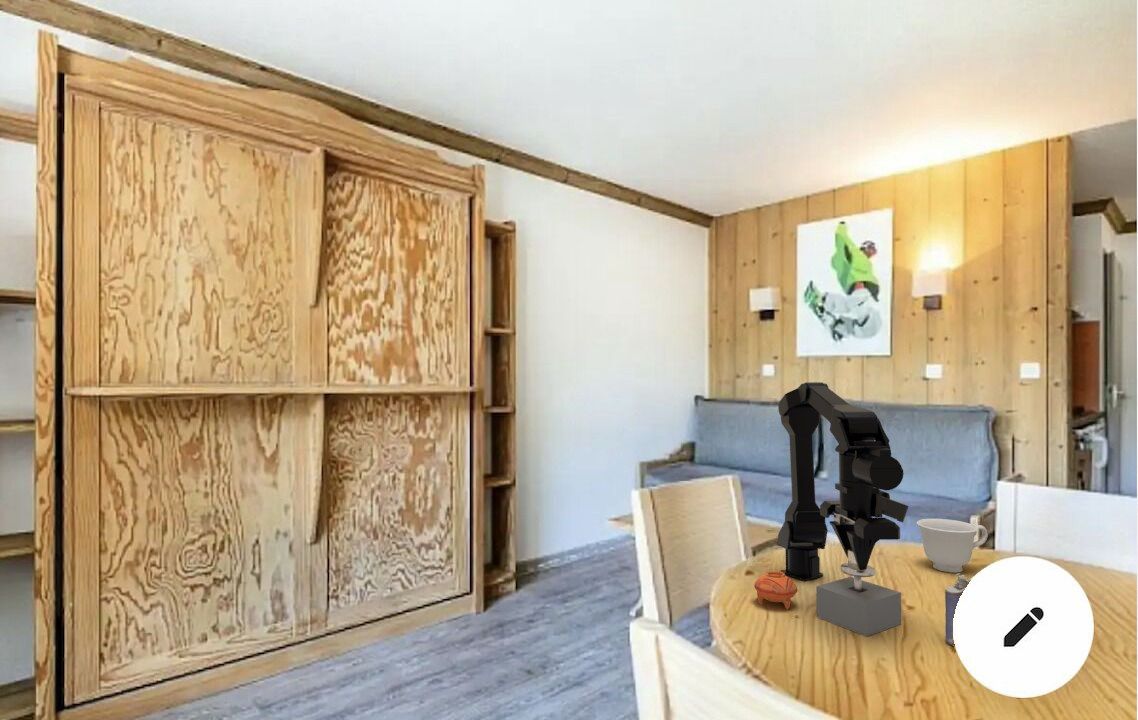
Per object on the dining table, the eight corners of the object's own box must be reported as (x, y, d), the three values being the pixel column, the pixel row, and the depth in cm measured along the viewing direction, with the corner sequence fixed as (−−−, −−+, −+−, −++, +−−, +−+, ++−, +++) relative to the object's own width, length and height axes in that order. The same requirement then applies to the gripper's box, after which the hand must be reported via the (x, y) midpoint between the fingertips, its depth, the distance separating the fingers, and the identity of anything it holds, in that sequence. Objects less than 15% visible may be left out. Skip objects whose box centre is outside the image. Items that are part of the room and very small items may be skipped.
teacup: (1005, 577, 135) (1004, 531, 135) (936, 577, 135) (935, 531, 135) (970, 560, 147) (969, 518, 147) (907, 560, 147) (906, 518, 148)
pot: (763, 612, 116) (759, 573, 117) (751, 606, 123) (748, 570, 125) (806, 610, 116) (801, 572, 117) (792, 605, 123) (787, 569, 125)
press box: (816, 616, 114) (816, 586, 114) (850, 606, 119) (850, 576, 119) (866, 636, 105) (866, 603, 106) (901, 624, 111) (900, 592, 111)
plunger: (829, 605, 114) (828, 549, 114) (853, 598, 117) (852, 543, 117) (863, 618, 108) (862, 558, 108) (887, 610, 111) (886, 552, 111)
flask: (957, 648, 101) (956, 582, 101) (939, 642, 103) (938, 577, 103) (987, 636, 105) (986, 572, 106) (968, 630, 108) (967, 568, 108)
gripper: (930, 489, 104) (932, 583, 103) (874, 471, 122) (876, 551, 122) (864, 489, 103) (865, 584, 103) (818, 471, 122) (819, 551, 122)
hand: (857, 566), depth 112 cm, fingers closed on plunger, 3 cm apart
